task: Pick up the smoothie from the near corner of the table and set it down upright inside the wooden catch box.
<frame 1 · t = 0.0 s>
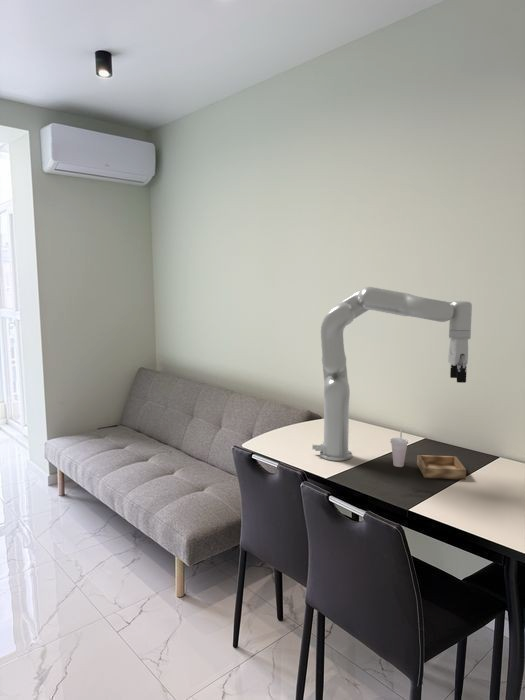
hand: (457, 380, 190), 31 cm above the table, tool pointing down, fingers open, 9 cm apart
catch box: (440, 471, 182), on the table
smoothie: (398, 465, 188), on the table
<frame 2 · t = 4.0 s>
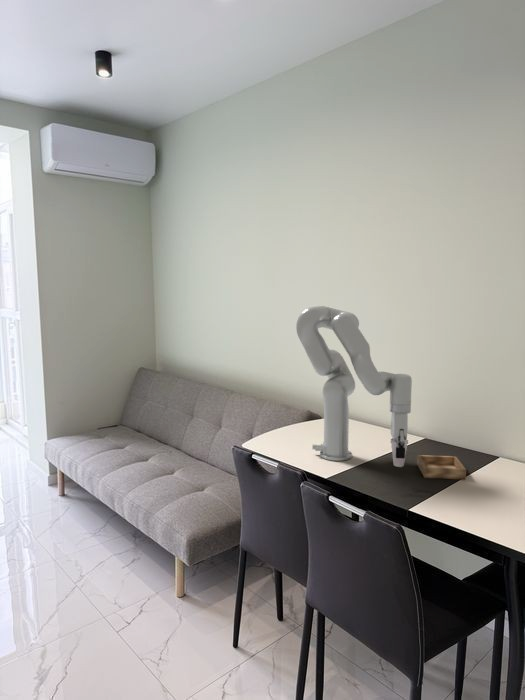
hand: (398, 454, 188), 4 cm above the table, tool pointing down, fingers closed on smoothie, 6 cm apart
smoothie: (398, 465, 189), on the table, touching gripper
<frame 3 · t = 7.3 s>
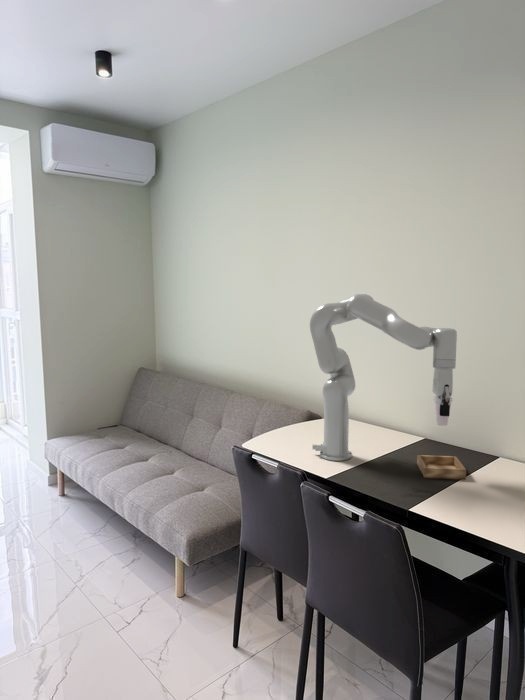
hand: (442, 413, 179), 21 cm above the table, tool pointing down, fingers closed on smoothie, 6 cm apart
smoothie: (441, 424, 180), point 17 cm above the table, touching gripper
when the fingers open (6 cm above the table, at t = 11.1 s): smoothie drops 1 cm, resting on catch box.
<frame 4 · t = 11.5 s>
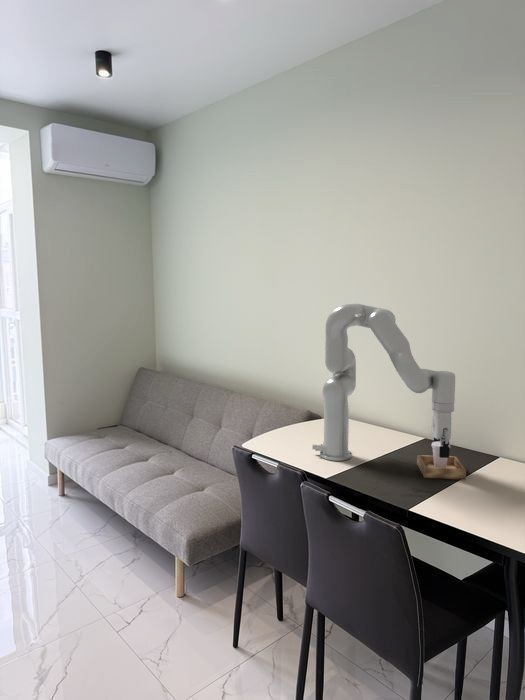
hand: (441, 452, 181), 7 cm above the table, tool pointing down, fingers open, 9 cm apart
smoothie: (439, 470, 182), resting on catch box
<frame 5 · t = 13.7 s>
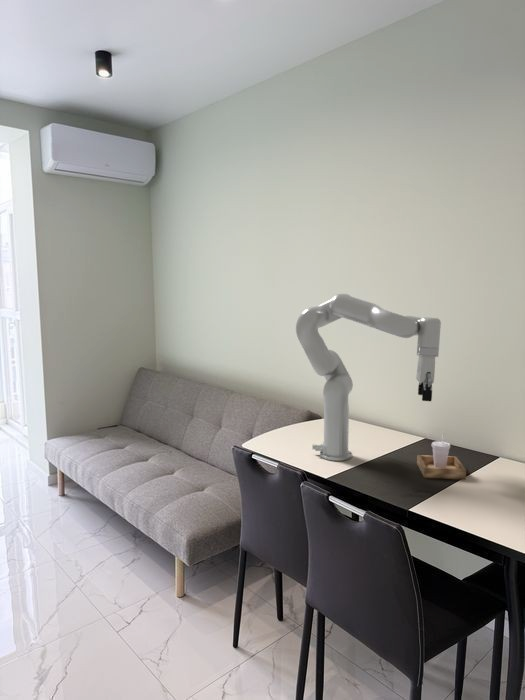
hand: (424, 397, 185), 26 cm above the table, tool pointing down, fingers open, 9 cm apart
nothing on the table moved.
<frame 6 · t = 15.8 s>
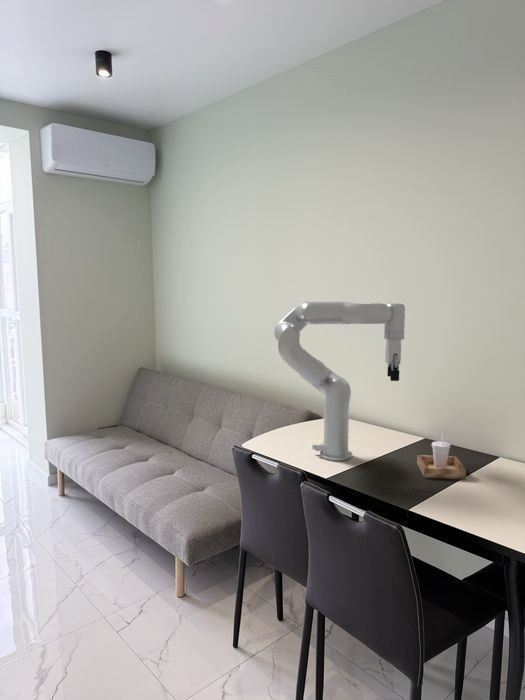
hand: (393, 378, 199), 30 cm above the table, tool pointing down, fingers open, 9 cm apart
nothing on the table moved.
at the end: smoothie inside the target area on the catch box (0.3 cm from its centre), point 0.4 cm above the catch box's base; smoothie tilted 0°; the gripper is holding nothing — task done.
